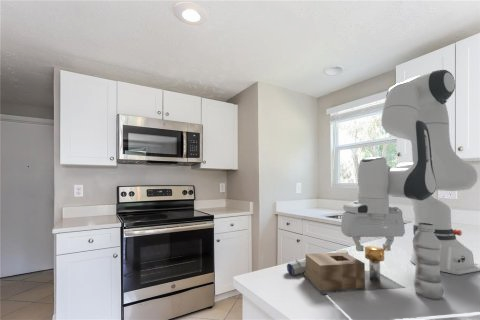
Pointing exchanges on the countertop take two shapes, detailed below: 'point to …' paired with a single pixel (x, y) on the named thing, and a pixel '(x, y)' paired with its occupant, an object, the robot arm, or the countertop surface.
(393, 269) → the countertop surface
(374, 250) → the brass knob
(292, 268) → the white handheld device
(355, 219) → the robot arm
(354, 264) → the hitch block
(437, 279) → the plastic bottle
